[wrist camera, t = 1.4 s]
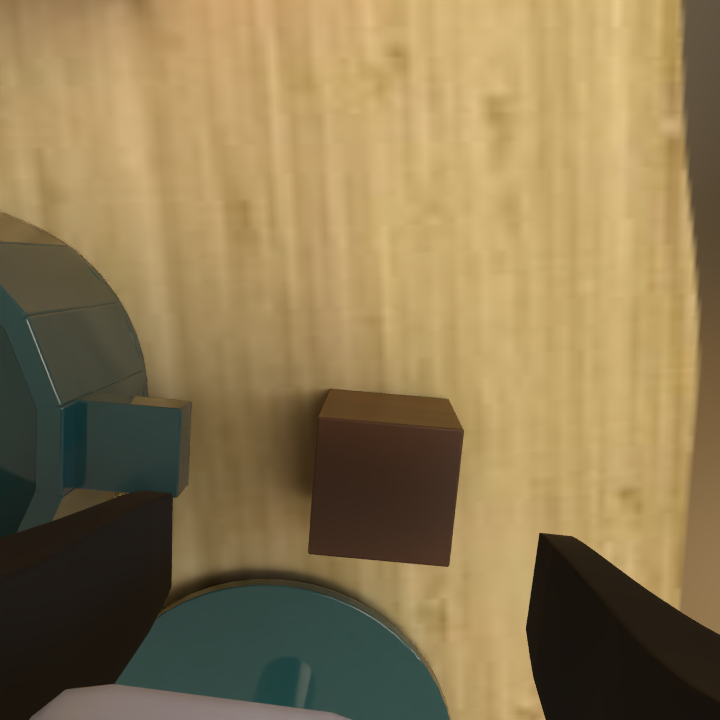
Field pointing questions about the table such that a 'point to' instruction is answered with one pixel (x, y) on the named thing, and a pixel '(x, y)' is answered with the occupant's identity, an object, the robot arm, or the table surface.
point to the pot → (74, 390)
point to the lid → (287, 653)
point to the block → (385, 478)
